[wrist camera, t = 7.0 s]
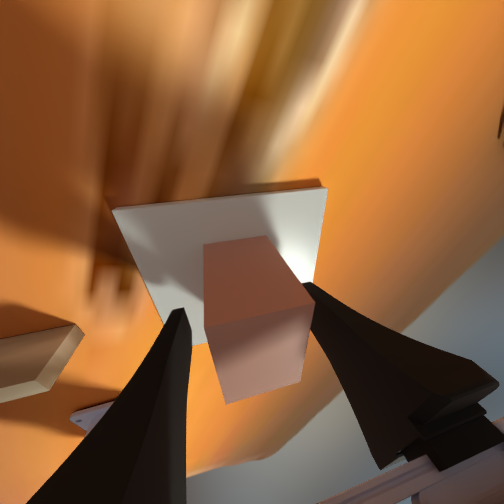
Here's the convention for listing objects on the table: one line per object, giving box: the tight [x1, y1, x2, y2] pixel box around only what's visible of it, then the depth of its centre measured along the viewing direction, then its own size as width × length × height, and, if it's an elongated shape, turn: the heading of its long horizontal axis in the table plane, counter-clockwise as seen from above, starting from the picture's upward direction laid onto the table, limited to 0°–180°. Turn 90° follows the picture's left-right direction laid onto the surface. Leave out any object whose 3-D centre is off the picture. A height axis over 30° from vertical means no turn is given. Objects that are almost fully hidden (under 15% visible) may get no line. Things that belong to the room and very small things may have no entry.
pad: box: [112, 186, 328, 346], centre depth 13 cm, size 12×12×1 cm
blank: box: [203, 235, 315, 404], centre depth 10 cm, size 6×4×6 cm, turn 3°
